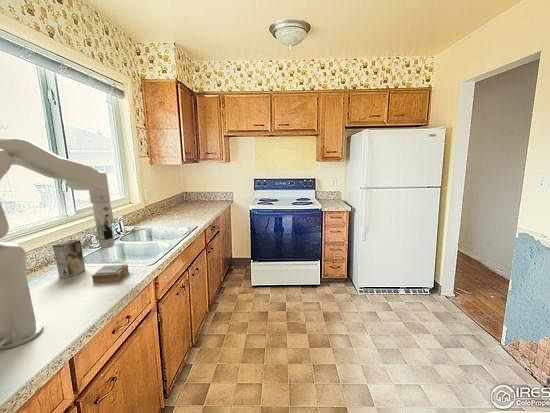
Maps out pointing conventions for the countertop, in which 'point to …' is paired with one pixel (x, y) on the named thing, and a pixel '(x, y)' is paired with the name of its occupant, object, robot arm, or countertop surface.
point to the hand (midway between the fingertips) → (105, 237)
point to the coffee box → (69, 258)
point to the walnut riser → (110, 274)
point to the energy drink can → (101, 238)
